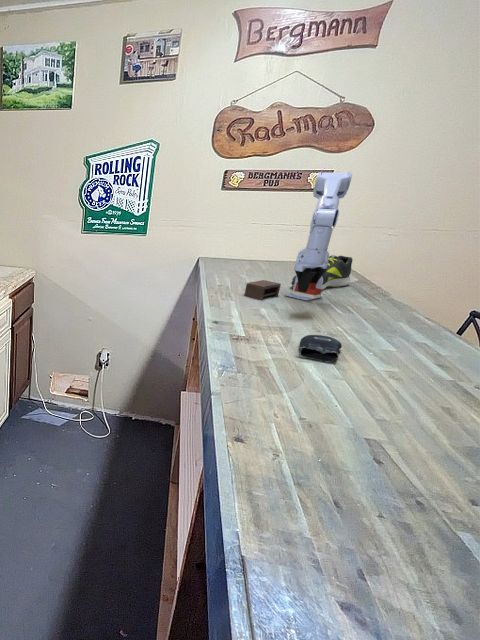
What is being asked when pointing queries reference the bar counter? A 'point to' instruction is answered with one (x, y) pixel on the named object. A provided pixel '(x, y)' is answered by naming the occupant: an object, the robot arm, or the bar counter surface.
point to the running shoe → (336, 272)
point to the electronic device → (319, 348)
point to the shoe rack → (262, 289)
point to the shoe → (308, 291)
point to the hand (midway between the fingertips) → (305, 290)
